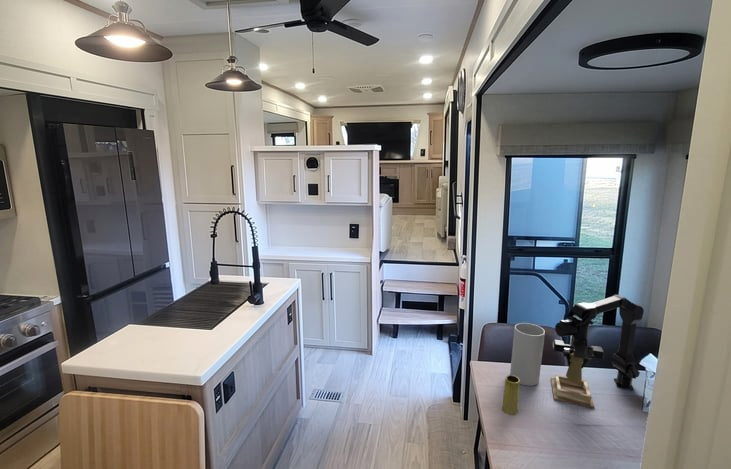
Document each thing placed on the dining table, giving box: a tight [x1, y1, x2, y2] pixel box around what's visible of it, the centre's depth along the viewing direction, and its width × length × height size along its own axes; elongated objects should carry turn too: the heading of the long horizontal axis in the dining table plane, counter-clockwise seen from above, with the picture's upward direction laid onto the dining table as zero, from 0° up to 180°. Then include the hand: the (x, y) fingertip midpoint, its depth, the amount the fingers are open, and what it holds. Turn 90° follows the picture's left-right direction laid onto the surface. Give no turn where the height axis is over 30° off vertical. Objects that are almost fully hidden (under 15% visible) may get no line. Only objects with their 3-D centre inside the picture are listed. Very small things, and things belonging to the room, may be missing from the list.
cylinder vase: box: [509, 322, 546, 387], centre depth 172 cm, size 12×12×25 cm
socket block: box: [550, 373, 595, 410], centre depth 164 cm, size 16×15×4 cm
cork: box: [565, 352, 583, 382], centre depth 162 cm, size 6×6×11 cm
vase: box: [501, 374, 520, 416], centre depth 152 cm, size 6×6×14 cm
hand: (575, 366), depth 162 cm, fingers closed on cork, 5 cm apart
